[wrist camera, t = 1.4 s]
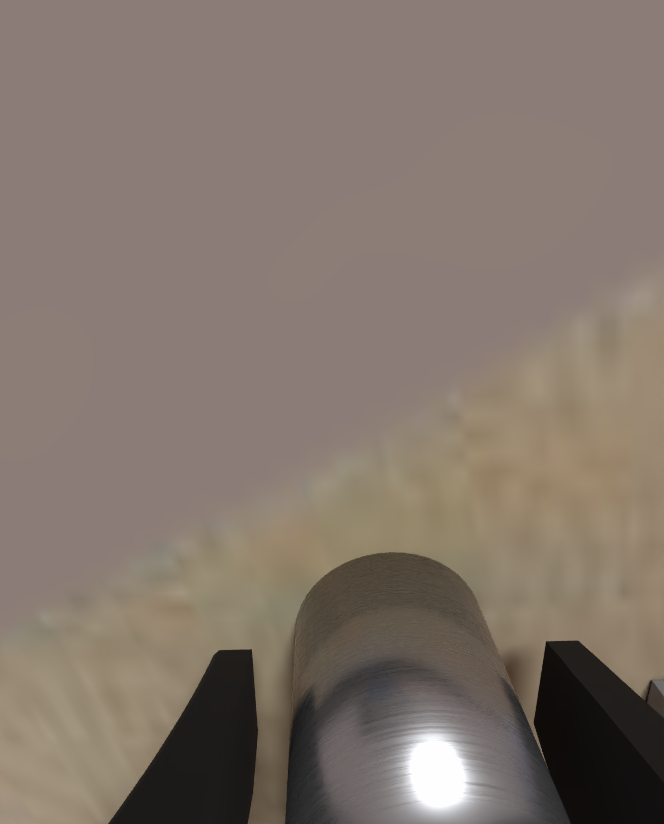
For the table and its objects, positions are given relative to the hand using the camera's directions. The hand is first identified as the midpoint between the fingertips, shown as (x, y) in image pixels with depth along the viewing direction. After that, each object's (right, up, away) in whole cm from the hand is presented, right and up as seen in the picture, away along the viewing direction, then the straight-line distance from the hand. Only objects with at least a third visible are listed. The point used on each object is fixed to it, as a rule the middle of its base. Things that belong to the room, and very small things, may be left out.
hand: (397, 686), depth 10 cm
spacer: (0, 0, +1) cm, 2 cm away
